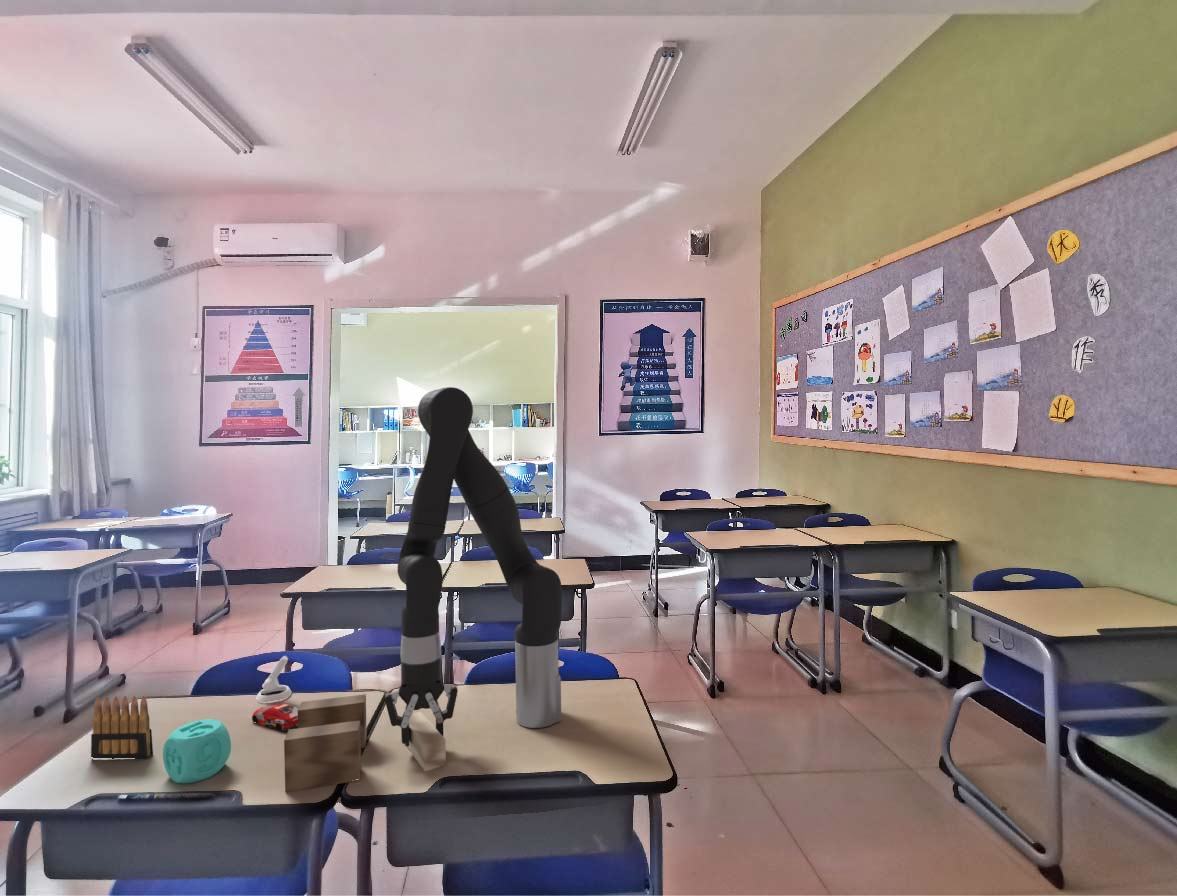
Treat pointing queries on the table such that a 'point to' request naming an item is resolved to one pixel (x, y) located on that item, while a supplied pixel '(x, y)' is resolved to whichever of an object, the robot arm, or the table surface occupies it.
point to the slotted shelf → (326, 743)
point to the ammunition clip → (121, 730)
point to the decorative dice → (196, 751)
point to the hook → (274, 684)
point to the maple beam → (426, 742)
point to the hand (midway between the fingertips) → (422, 741)
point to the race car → (277, 716)
